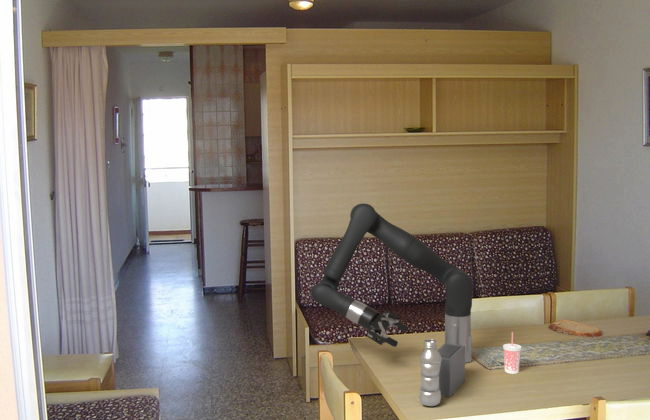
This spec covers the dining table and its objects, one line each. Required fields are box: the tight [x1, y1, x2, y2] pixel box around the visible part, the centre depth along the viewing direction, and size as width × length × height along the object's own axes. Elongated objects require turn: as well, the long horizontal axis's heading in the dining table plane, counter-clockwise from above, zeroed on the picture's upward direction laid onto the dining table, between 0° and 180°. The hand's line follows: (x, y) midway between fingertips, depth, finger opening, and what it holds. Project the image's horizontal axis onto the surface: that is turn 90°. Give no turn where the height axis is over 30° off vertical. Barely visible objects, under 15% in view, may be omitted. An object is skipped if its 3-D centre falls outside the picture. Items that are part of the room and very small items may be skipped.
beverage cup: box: [502, 331, 522, 375], centre depth 230 cm, size 6×6×14 cm
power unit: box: [437, 342, 466, 398], centre depth 217 cm, size 7×16×12 cm, turn 152°
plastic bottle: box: [418, 338, 442, 407], centre depth 202 cm, size 6×7×20 cm
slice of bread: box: [548, 319, 603, 338], centre depth 278 cm, size 18×18×4 cm
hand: (402, 337), depth 230 cm, fingers open, 8 cm apart
